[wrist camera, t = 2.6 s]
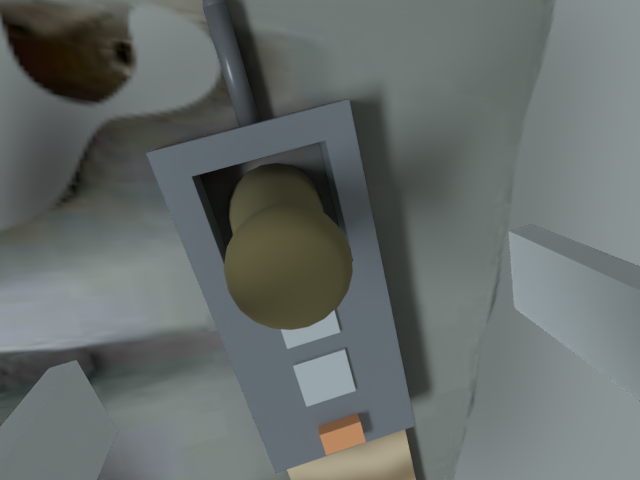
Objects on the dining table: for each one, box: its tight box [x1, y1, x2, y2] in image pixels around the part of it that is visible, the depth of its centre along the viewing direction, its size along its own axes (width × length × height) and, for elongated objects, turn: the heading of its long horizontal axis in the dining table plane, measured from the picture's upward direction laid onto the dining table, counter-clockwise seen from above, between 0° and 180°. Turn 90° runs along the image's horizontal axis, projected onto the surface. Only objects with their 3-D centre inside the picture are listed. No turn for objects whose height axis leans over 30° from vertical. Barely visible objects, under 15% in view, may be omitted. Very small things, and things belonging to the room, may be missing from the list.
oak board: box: [287, 430, 416, 480], centre depth 32 cm, size 10×10×1 cm
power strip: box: [146, 0, 415, 473], centre depth 24 cm, size 31×11×3 cm, turn 14°
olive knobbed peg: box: [224, 164, 353, 330], centre depth 19 cm, size 6×6×11 cm
